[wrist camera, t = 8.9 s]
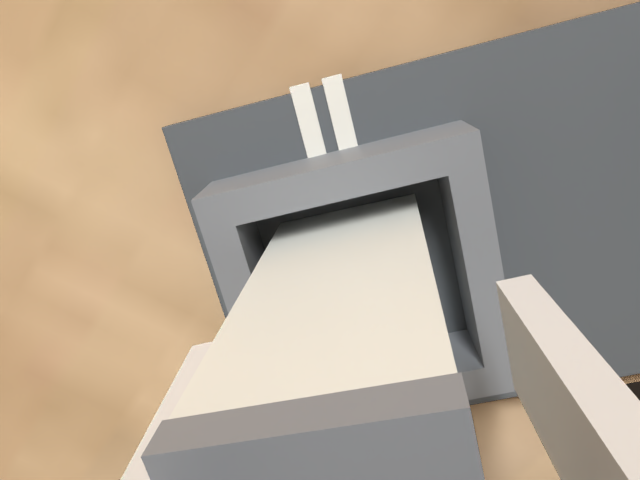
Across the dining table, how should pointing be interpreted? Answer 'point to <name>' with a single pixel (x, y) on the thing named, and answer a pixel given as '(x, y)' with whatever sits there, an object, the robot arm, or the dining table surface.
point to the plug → (328, 365)
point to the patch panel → (454, 178)
